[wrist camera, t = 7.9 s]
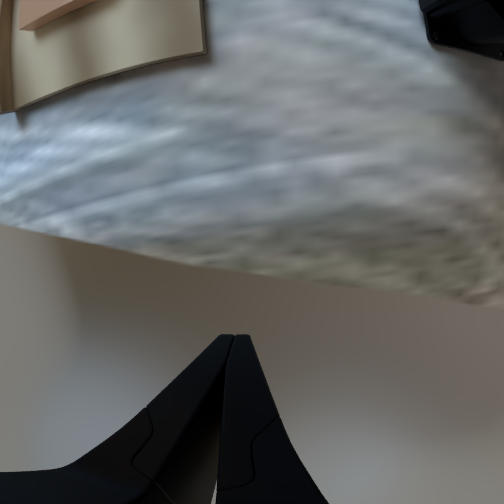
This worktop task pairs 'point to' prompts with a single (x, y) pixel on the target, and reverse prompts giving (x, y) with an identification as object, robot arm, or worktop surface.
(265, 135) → the worktop surface
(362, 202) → the worktop surface
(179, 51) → the board
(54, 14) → the tile
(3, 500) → the robot arm
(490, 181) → the worktop surface
